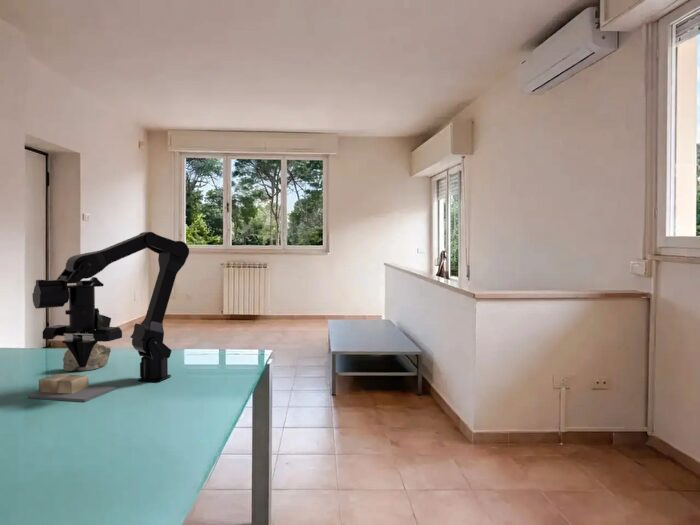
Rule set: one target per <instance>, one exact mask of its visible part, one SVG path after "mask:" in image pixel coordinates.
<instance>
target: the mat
mask: <svg viewBox="0 0 700 525" xmlns="http://www.w3.org/2000/svg"><path fill="white" fill-rule="evenodd" d="M115 390H116V387H115V386H106V385H105V386H104V385H103V386H102V385H101V386H100V385H89V387H88V388H86V389H83V390H80V391H78V392H75V393H72V394H68V393H53V392H39V391H36V392H33V393H31V394H28V395H27V399H36V398H40V399H39V400H50V399H51V400H50V401H53V400H55V401H67V402H80V403H82V402H83V403H85V402H88V401H90V400H94V399H95V398H98V397H100V396H103V395H105V394H108V393H109V392H112V391H115ZM41 398H42V399H41Z"/></svg>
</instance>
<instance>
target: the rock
mask: <svg viewBox="0 0 700 525" xmlns="http://www.w3.org/2000/svg"><path fill="white" fill-rule="evenodd" d="M111 351H112V350H111V346H108V345H107V346H106V345H104V344H98V342H97V343H96V344H95V345H94V347H93V349H92V351H91V354H90V356H89V359H88V362H87V364H86V367H84V368H81V367H80V366H79V365H78V363H77V361H76V359H75V358H74V356H73V354H72V353H71V351H70V350H69V348H68V347H67V350H66V351H65V353H64V355H63V358H62V362H63V367H62V368H63V369H62V370H63V371H66V372H72V371H73V372H75V371H79V372H87V371H92V370H97V369H100V368H103V367H104V366H106V365H107V364H108V362H109V358H110V355H111Z"/></svg>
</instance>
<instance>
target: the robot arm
mask: <svg viewBox="0 0 700 525" xmlns="http://www.w3.org/2000/svg"><path fill="white" fill-rule="evenodd" d="M145 249H148V250H150V251H151V252H153V253H156V254H157V255H158V259H157V261H158V266H159V267H158V268H159V269H158V270H159V271H158V273H157V277H156V281H155V284H154V288H153V291H152V294H151V296H150V300H149V305H148V307H147V311H146V314H145V316H144V320H142V322H141V323H137V322H136V323H135V324H134V327H133V332H132V335H131V336H130V338H131V345H132V346H133V349H134V350H136V351H137V353H138V355H139V357H140V358H141V361H140V362H139V376H140V377H139V378H138V379H137V382H150V383H151V382H153V383H159V382H162V381H164V380H167V379H169V378H170V377H172V375H171V374H169V373H168V372H169V371H168V370H169V369H168V368H169V367H168V366H169V364H168V361H169V359H170V357H171V354H172V349H170V347H169V346H167V345H166V344H165V343H164V336H165V331H164V324H163V323H164V318H165V315H166V312H167V309H168V306H169V301H170V299H171V295H172V291H173V288H174V285H175V281H176V278H177V274H178V272H179V271H180V270H181V269H182V268H183V266H184V265H185V264H186V261H187V259H188V257H189V255H190V248H189V247H188V244H187V243H186V242H184V241H181V240H173V239H171V238H167V237H165V236H161V235H159V234H156V233H154V232H153V231H144V232H140V233H139V234H138V235H134V236H132V237H130V238H127V239H124V240H122V241H120V242H117V243H115V244H113V245H111V246H110V245H109V246H108V247H105V248H103V249H101V250H97V251H91V252H85V253H84V252H83V253H80V254H79V253H78V254H75V255H72V256H70V257H69V258H68V259H67V260H66V263H65V268H64V269H63V271H62V272H61V273H60V275H59V276H58V277H57V278H56V279H52V280H51V279H47V280H46V279H36V280H35V285H34V288H33V292H32V294H31V295H32V303H33V306H34V308H35V309H37V310H38V309H39V310H40V309H49V308H50V309H51V308H60V307H61V308H62V307H64V306H65V304H69V305H68V309H67V310H64V311H65V313H64V314H65V315H66V316H67V315H68V316H69V319H68V320H69V324H64V325H63V324H56V325H52V326H45V328H44V329H43V331H42V340H54V339H55V338H56V337H58V336H59V337H64V339H63V340H62V343H63V344H64V345H65V346H66V347H67V349H68V348H69V350H70V351H71V353H72V354H73V356H74V358H75V359H76V361H77V363H78V365H79V366H80V367H81V368H84V367H86V364H87V362H88V359H89V356H90V354H91V351H92V349H93V347H94V345H95V344H96V343H97V344H98V342H107V343H108V342H111V341H115V340H118V339H122V338H123V330H122V329H121V327H120V326H111V322H112V317H109V316H107V315H104V314H100V310H99V308H98V307H96V303H95V302H96V299H95V298H96V292H95V290H96V289H95V288H97V287H98V288H100V287H104V283H103V282H101V281H100V280H99V279H98V277H95V276H96V275H97V274H99V273H100V272H102V271H104V270H105V268H106V267H108V266H110V264H113V263H115V262H116V261H117V262H118V261H120V260H122V259H124V258H126V257H128V256H131V255H133V254H136V253H139V252H141V251H143V250H145ZM84 279H85V280H84ZM86 279H89V280H86ZM68 284H69V285H68Z"/></svg>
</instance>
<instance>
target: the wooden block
mask: <svg viewBox="0 0 700 525" xmlns="http://www.w3.org/2000/svg"><path fill="white" fill-rule="evenodd" d="M89 378H90V376H89V375H85V374H84V375H81V374H63V373H56V374H55V373H54V374H52V375H49V376H47V377H43V378H40V379H38V392H53V393H68V394H72V393H75V392H78V391H80V390H83V389H86V388H88V387H89V386H90V384H89V382H90V379H89Z"/></svg>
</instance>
